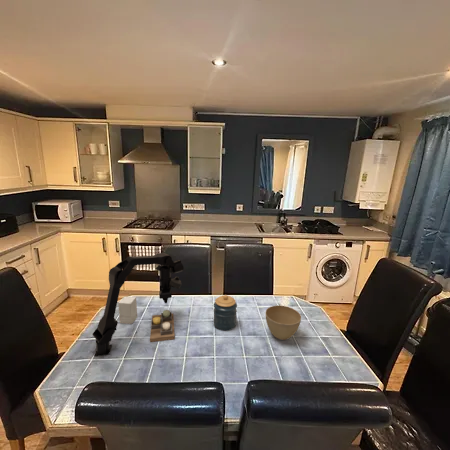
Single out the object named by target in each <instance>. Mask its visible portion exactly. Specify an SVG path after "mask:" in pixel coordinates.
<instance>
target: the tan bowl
mask: <svg viewBox="0 0 450 450" xmlns="http://www.w3.org/2000/svg"><path fill="white" fill-rule="evenodd" d="M265 321H266V325H267V327H268V329H269V332H270V333H271V334H272V336H274V338H276V339H278V340H281V341H282V340H283V341H285V340H288V339H290V338H291V337H293V336H294V335H295V333H296V332H297V331H298V329H299V327H300V325H301V321H302V315H301V313H300V312H298V311H297V310H296V309H294V308H293V307H290V306H287V305H272V306H269V307H268V308H266V309H265Z"/></svg>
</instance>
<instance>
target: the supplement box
mask: <svg viewBox="0 0 450 450" xmlns="http://www.w3.org/2000/svg"><path fill="white" fill-rule="evenodd" d="M137 305H138V304H137V297H136V296H124V297H122V298H121V300H119V302H117V306H118V314H119V315H118V316H119V318H118V319H119V324H127V325H133V324H134V323H135V321H136V320H137V318H138V307H137Z"/></svg>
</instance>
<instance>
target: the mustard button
mask: <svg viewBox="0 0 450 450" xmlns="http://www.w3.org/2000/svg"><path fill="white" fill-rule="evenodd" d="M160 323H161V322H160V317H154V318H153V324H154V325H159V324H160Z"/></svg>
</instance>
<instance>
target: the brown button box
mask: <svg viewBox="0 0 450 450" xmlns="http://www.w3.org/2000/svg"><path fill="white" fill-rule="evenodd" d="M174 315H175V314H174V313H173V312H172V311H170V316H169V317H167V318H164V317H163V312H160V314H155V315H154V314H153V315H152V316H151V320H150V336H149V343H155V342H164V341H171V340H175V339H176V338H175V316H174ZM154 317H160V322H161V323H160V324H159V325H154V324H153V318H154ZM165 322H169V323H170V329H169V330H168V331H164V330H163V323H165Z"/></svg>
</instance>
